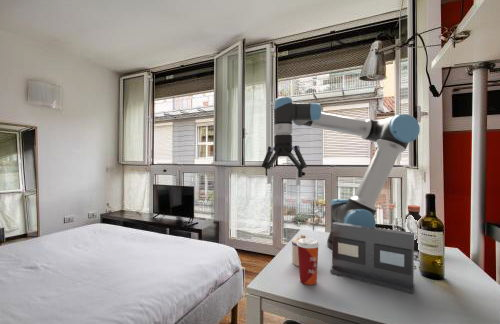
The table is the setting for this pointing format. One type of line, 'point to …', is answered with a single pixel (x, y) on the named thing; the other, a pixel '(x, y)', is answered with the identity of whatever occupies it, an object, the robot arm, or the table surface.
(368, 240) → the panel
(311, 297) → the table surface
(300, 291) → the table surface
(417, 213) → the bottle
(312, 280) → the paper cup
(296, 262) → the teacup with lid
